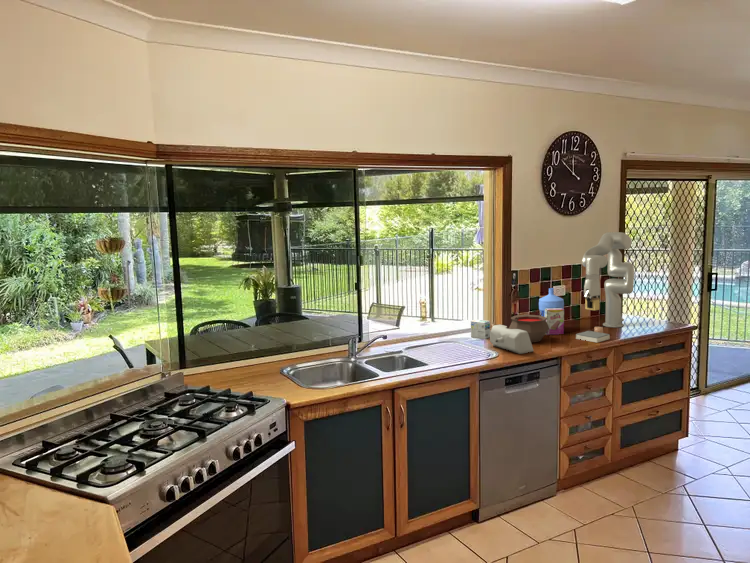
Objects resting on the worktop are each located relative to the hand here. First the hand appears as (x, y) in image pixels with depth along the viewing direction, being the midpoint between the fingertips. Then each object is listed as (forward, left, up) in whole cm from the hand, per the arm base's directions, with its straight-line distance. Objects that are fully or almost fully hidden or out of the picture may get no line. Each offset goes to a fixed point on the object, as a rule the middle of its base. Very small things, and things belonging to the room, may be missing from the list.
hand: (592, 307), depth 319 cm
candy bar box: (+5, -23, -20) cm, 31 cm away
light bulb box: (+44, -50, -20) cm, 69 cm away
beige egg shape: (-11, -3, -20) cm, 23 cm away
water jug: (-2, -31, -20) cm, 37 cm away
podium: (0, 0, -20) cm, 20 cm away
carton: (0, 0, -1) cm, 1 cm away
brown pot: (+28, -25, -20) cm, 42 cm away
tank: (+55, -18, -20) cm, 61 cm away
